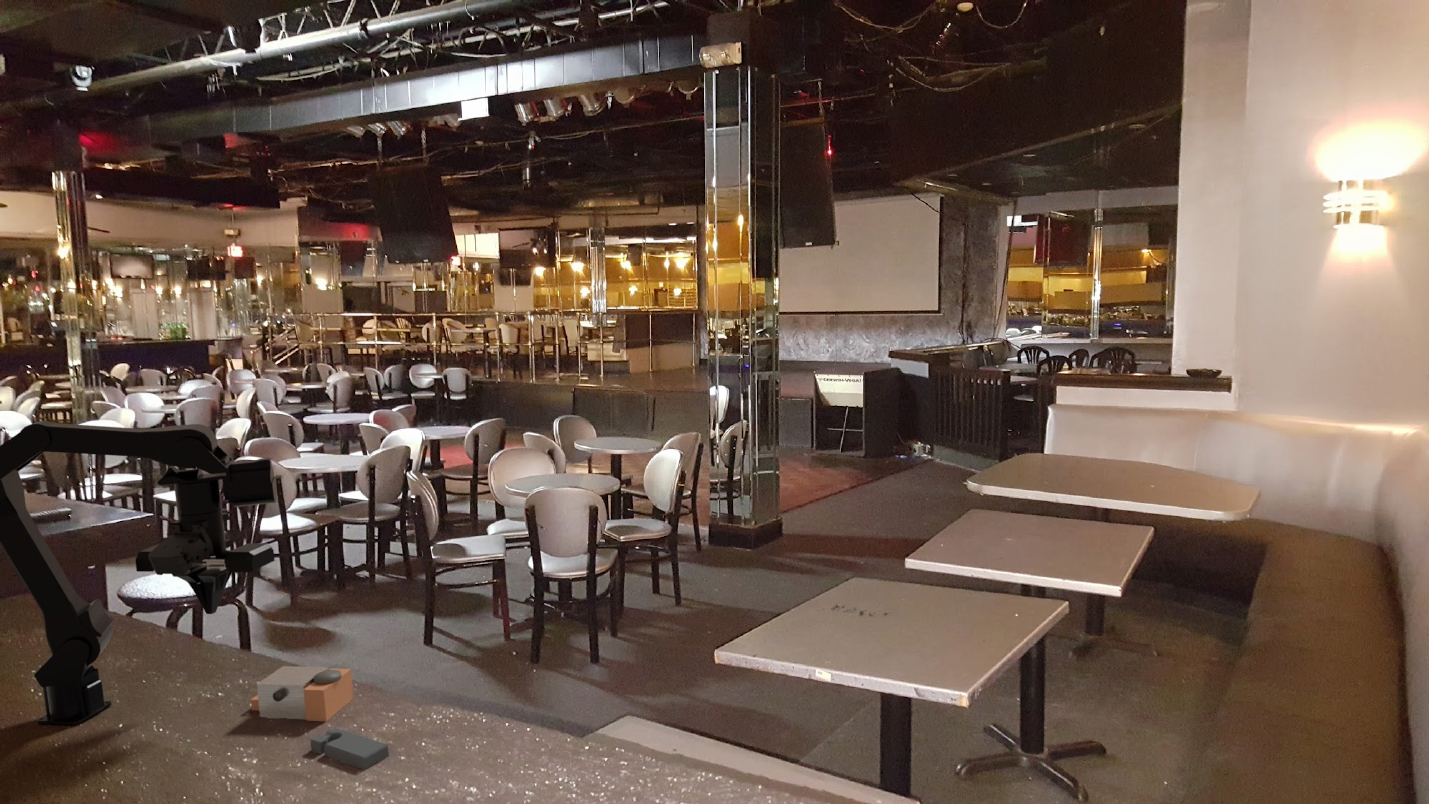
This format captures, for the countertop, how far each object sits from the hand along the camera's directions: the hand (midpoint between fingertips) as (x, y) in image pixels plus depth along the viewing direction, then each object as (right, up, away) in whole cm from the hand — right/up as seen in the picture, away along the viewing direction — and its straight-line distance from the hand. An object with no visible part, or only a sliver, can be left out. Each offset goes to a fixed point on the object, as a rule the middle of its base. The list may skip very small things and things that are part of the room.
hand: (211, 613), depth 135 cm
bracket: (+28, -14, -19) cm, 37 cm away
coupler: (+16, -12, -6) cm, 21 cm away
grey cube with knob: (+15, -12, -6) cm, 20 cm away
